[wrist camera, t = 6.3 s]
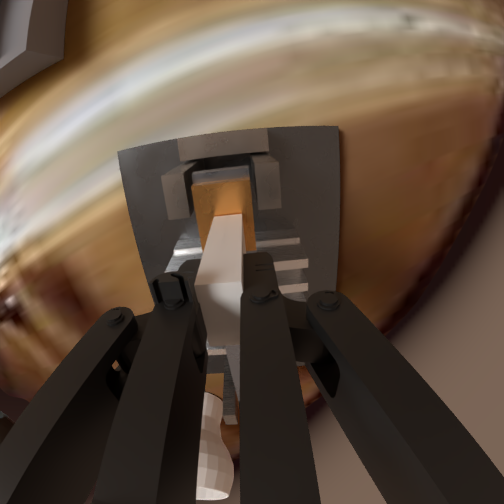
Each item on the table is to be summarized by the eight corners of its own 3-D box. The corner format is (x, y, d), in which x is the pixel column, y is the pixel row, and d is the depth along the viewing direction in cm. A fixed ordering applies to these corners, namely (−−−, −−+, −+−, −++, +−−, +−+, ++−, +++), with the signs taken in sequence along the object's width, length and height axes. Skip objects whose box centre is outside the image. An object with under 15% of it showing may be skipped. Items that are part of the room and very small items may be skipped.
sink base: (325, 354, 32) (343, 414, 23) (182, 367, 32) (171, 427, 23) (333, 126, 20) (386, 128, 12) (123, 150, 20) (62, 167, 12)
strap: (268, 396, 26) (270, 411, 24) (240, 399, 26) (240, 413, 24) (248, 163, 15) (248, 170, 13) (195, 170, 15) (189, 177, 13)
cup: (231, 384, 33) (230, 486, 20) (235, 420, 38) (236, 502, 24) (155, 381, 33) (134, 475, 20) (172, 417, 38) (161, 495, 24)
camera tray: (-14, 110, 16) (-50, 116, 10) (4, -13, 7) (-22, -20, 1) (66, 59, 16) (25, 50, 10) (85, -65, 7) (63, -85, 1)
